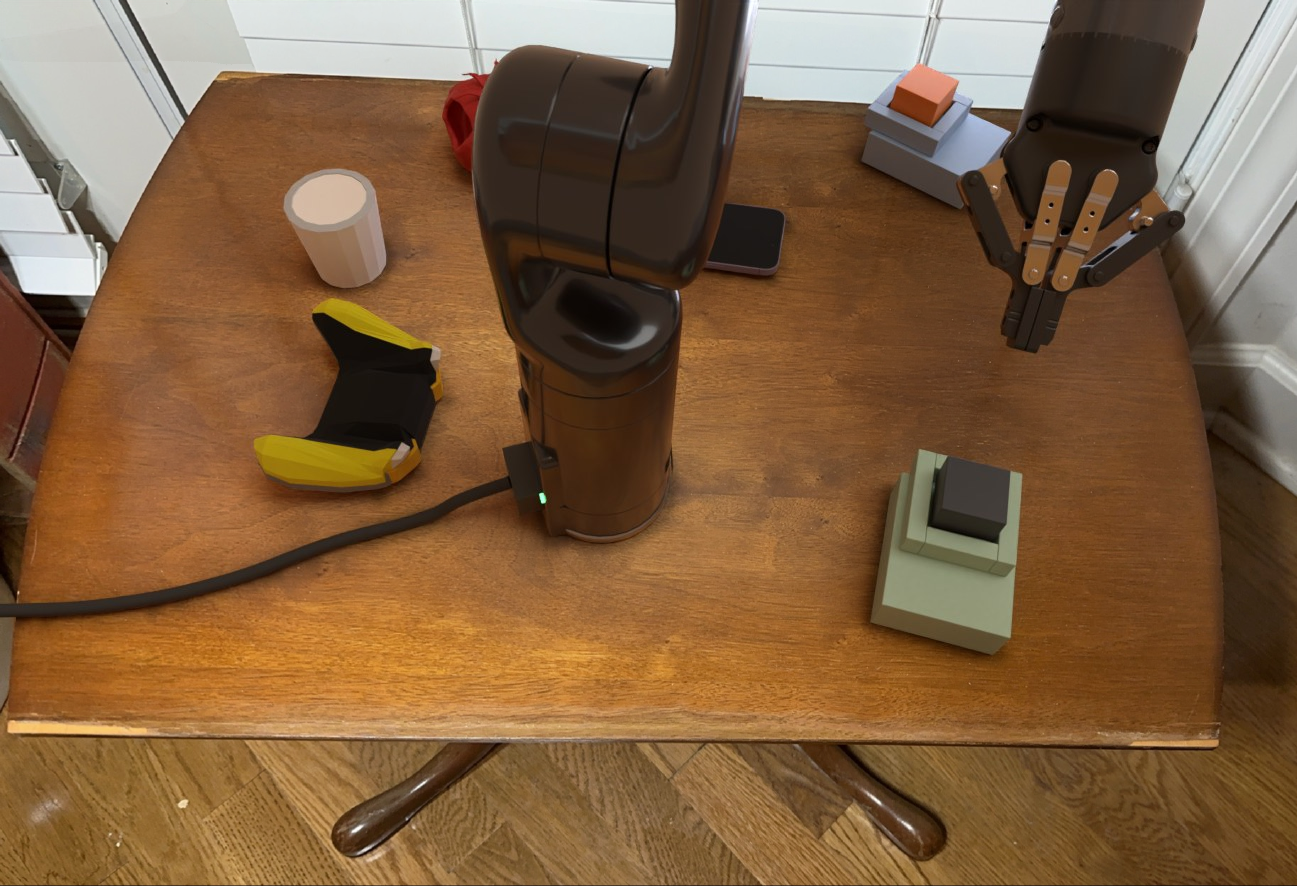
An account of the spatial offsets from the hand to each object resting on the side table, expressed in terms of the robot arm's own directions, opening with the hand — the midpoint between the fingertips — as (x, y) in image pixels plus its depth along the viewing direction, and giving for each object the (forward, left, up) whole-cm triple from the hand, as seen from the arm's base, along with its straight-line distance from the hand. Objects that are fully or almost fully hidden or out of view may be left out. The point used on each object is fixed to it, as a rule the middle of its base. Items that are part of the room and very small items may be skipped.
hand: (1020, 349), depth 55 cm
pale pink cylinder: (-39, +32, -14) cm, 52 cm away
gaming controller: (-40, +16, -14) cm, 45 cm away
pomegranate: (-24, +41, -14) cm, 49 cm away
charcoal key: (-3, -5, -9) cm, 11 cm away
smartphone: (-11, +27, -14) cm, 32 cm away
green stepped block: (-5, -7, -14) cm, 16 cm away
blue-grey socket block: (+13, +30, -14) cm, 35 cm away
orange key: (+12, +32, -9) cm, 35 cm away
